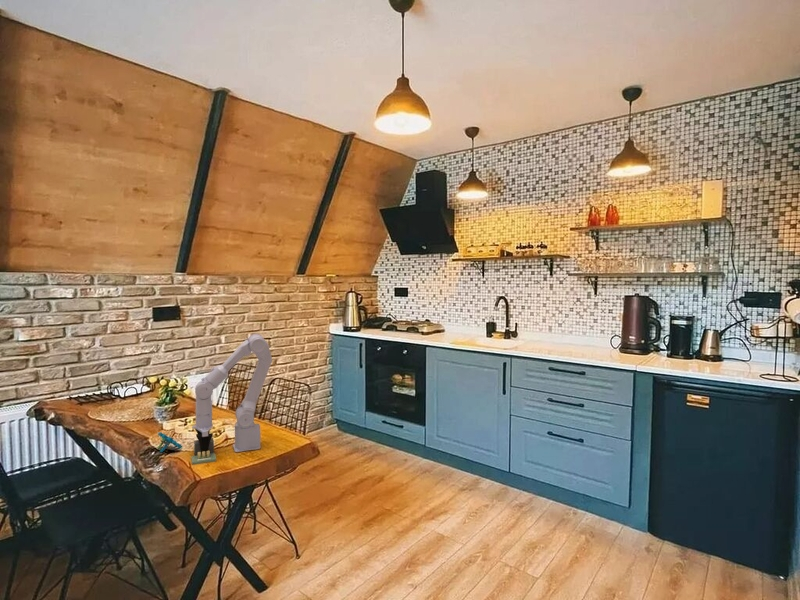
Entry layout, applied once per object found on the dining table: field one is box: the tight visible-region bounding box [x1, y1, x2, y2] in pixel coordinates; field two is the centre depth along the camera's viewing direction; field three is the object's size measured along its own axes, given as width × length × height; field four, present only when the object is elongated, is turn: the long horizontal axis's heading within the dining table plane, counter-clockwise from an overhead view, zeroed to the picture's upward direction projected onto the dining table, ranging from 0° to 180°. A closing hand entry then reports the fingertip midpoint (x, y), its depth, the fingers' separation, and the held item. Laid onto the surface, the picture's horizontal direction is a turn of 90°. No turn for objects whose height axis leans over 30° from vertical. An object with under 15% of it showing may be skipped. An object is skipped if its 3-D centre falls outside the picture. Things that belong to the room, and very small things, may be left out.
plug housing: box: [193, 437, 215, 456], centre depth 173 cm, size 7×4×4 cm, turn 116°
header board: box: [190, 451, 217, 466], centre depth 167 cm, size 8×6×3 cm
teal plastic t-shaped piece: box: [157, 432, 183, 453], centre depth 174 cm, size 11×6×10 cm
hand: (203, 449), depth 173 cm, fingers open, 6 cm apart
